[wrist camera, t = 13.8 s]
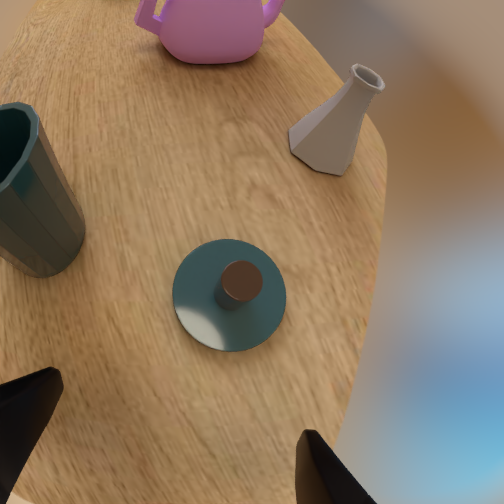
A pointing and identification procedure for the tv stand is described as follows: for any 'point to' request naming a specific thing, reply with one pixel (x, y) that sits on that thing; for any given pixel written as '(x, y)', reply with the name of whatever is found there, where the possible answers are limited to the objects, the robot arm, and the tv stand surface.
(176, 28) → the teapot
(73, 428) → the tv stand surface
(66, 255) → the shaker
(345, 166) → the flask
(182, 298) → the lid
